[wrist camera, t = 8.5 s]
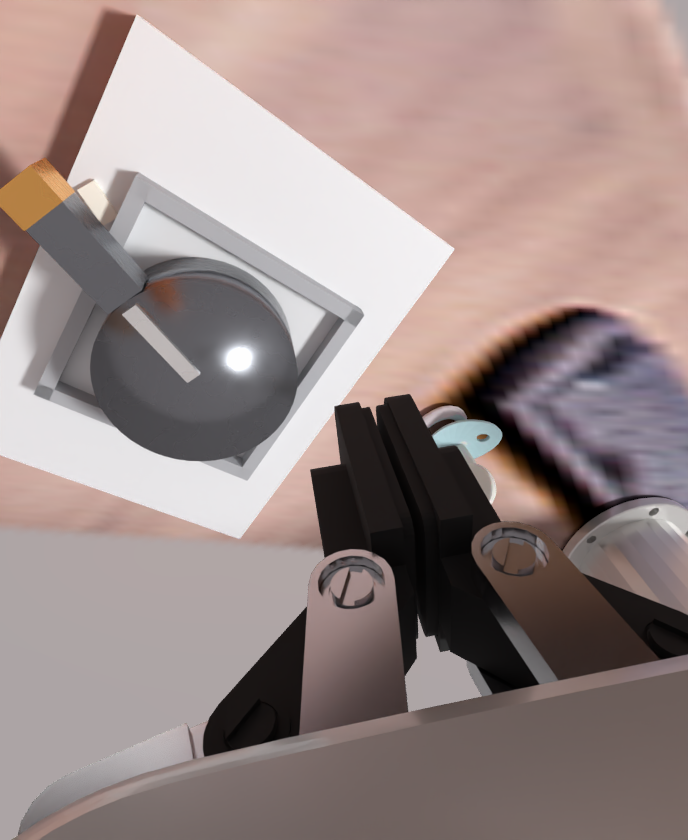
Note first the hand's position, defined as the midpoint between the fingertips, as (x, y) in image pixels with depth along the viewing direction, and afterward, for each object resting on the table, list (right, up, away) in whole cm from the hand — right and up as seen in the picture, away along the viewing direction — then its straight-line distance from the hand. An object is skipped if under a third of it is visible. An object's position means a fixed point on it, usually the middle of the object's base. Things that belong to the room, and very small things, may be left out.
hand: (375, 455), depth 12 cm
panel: (-9, +6, +20) cm, 22 cm away
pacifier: (+6, -1, +27) cm, 28 cm away
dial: (-10, +7, +17) cm, 21 cm away
